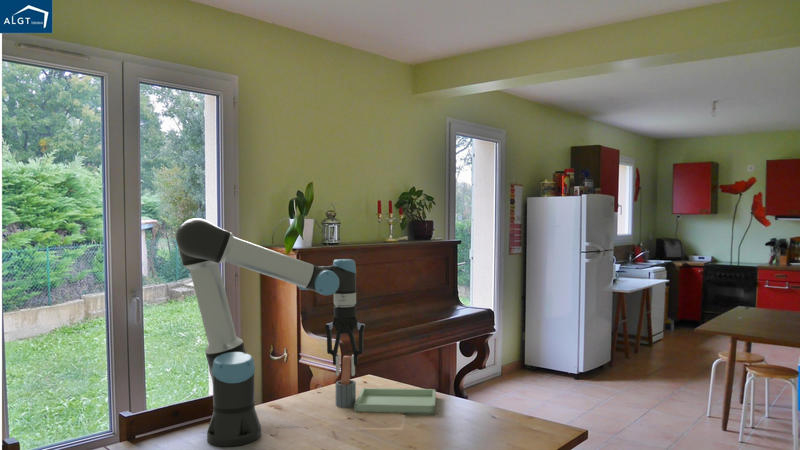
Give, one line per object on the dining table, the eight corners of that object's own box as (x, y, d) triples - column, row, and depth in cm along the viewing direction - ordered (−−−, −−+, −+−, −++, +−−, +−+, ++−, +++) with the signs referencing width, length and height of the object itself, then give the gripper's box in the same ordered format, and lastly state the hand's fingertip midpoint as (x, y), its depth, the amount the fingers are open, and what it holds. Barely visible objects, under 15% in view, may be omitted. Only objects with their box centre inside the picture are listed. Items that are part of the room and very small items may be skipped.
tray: (354, 413, 185) (354, 404, 185) (362, 396, 203) (362, 388, 203) (434, 414, 184) (434, 405, 184) (435, 397, 202) (435, 389, 201)
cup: (334, 409, 190) (334, 385, 190) (337, 402, 196) (337, 379, 196) (354, 409, 189) (353, 385, 189) (357, 403, 196) (356, 379, 196)
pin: (338, 406, 192) (332, 358, 191) (340, 403, 194) (334, 356, 194) (356, 404, 191) (350, 356, 191) (358, 402, 194) (351, 354, 194)
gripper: (316, 307, 189) (317, 377, 190) (369, 307, 188) (370, 378, 188) (321, 303, 197) (322, 371, 197) (372, 303, 195) (372, 372, 196)
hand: (345, 374), depth 193 cm, fingers open, 4 cm apart
